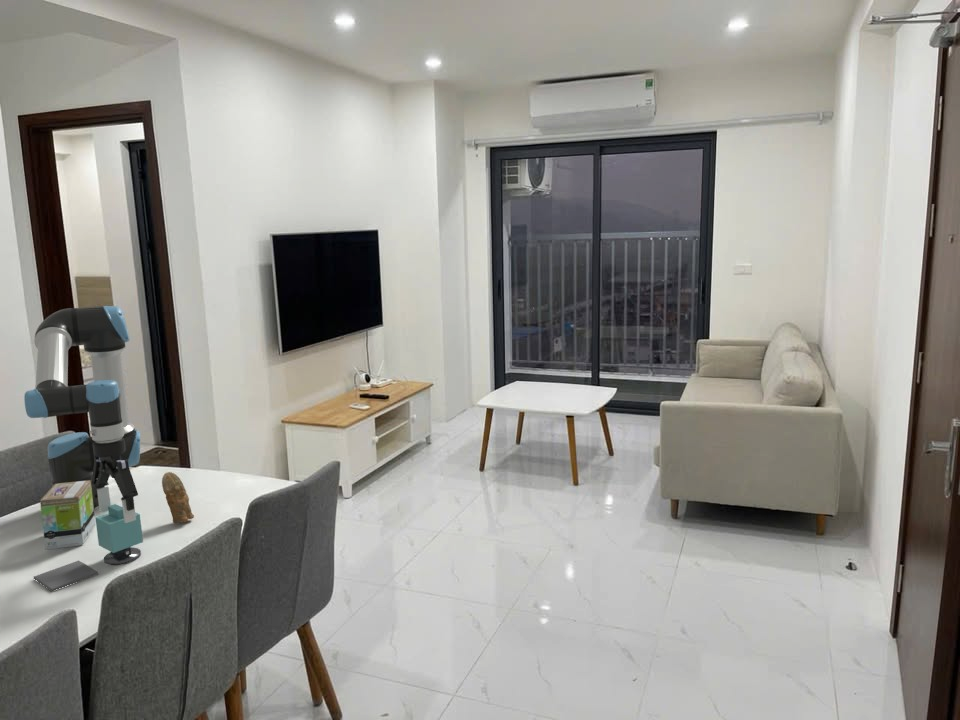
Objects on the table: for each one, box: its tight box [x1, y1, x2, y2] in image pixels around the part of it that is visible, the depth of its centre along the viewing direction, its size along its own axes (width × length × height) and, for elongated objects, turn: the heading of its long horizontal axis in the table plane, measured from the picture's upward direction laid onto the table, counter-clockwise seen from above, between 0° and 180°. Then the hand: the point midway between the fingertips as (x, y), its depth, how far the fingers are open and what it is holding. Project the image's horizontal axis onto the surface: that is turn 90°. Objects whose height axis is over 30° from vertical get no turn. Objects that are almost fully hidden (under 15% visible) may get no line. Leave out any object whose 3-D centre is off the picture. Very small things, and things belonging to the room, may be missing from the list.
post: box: [103, 546, 142, 566], centre depth 191 cm, size 9×9×9 cm
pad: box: [33, 559, 99, 592], centre depth 181 cm, size 11×11×1 cm
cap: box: [95, 503, 144, 553], centre depth 190 cm, size 8×8×10 cm
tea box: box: [39, 480, 96, 550], centre depth 204 cm, size 15×10×15 cm
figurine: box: [161, 471, 195, 524], centre depth 215 cm, size 8×8×15 cm
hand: (117, 516), depth 189 cm, fingers open, 13 cm apart
